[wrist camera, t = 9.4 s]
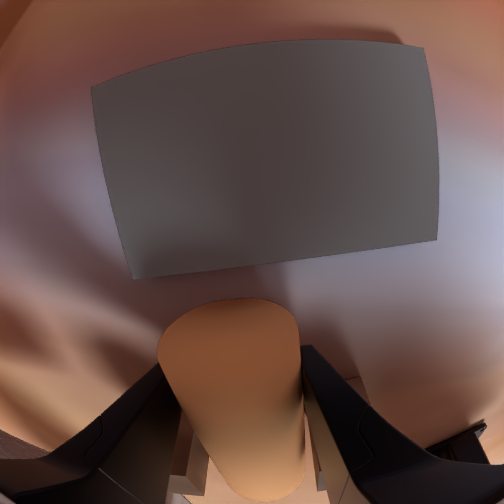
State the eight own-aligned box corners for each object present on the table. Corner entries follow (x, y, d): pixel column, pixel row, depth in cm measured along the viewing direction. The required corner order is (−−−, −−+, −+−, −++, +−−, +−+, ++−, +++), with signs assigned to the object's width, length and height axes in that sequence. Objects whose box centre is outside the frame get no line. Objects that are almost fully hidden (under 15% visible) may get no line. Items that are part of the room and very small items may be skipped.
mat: (424, 231, 8) (436, 239, 8) (141, 268, 9) (133, 279, 8) (411, 53, 6) (423, 48, 6) (103, 90, 7) (90, 87, 6)
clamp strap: (108, 485, 9) (96, 524, 6) (-7, 437, 9) (-20, 460, 7) (81, 462, 8) (64, 505, 5) (-29, 413, 8) (-44, 436, 6)
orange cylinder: (301, 433, 13) (310, 496, 9) (226, 440, 13) (223, 503, 9) (289, 290, 10) (310, 379, 6) (173, 305, 10) (140, 390, 6)
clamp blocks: (355, 408, 12) (374, 479, 8) (168, 422, 13) (152, 490, 9) (360, 376, 11) (387, 456, 7) (151, 394, 12) (127, 468, 8)
